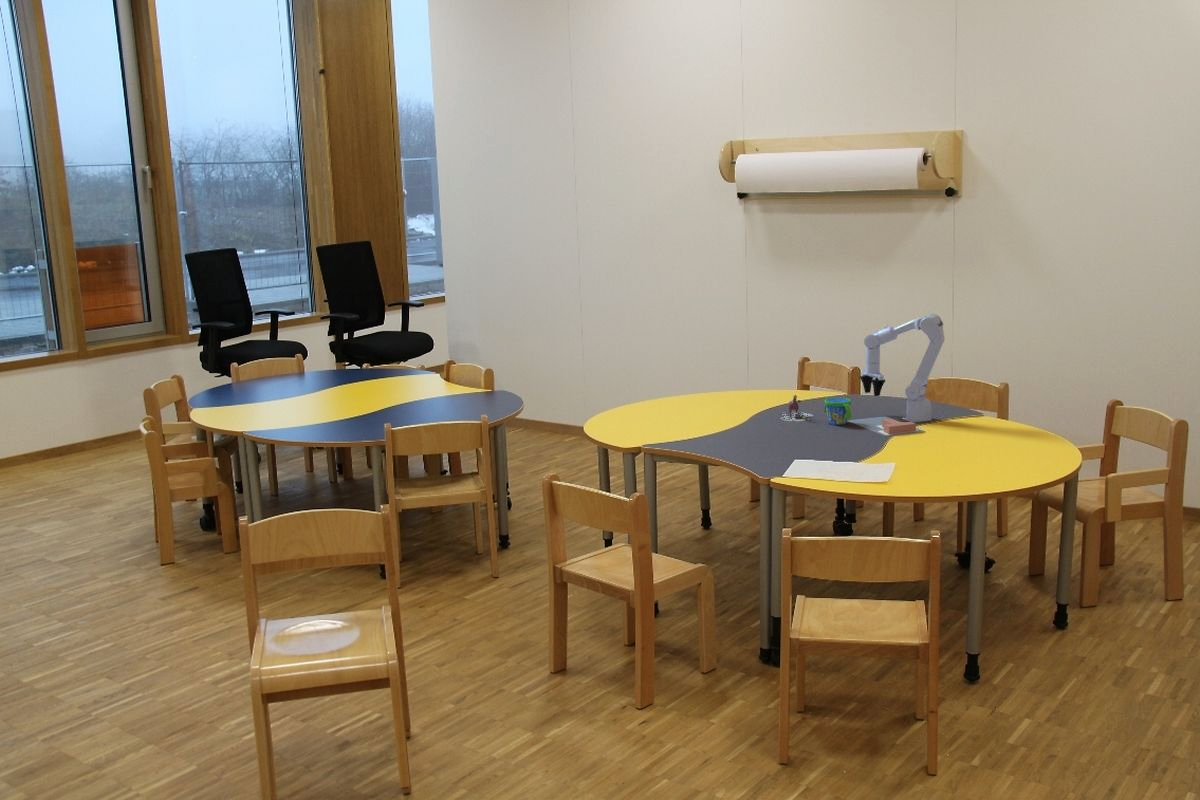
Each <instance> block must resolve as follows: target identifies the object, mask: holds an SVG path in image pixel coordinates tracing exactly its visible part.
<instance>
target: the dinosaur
mask: <svg viewBox="0 0 1200 800" xmlns="http://www.w3.org/2000/svg"><path fill="white" fill-rule="evenodd" d="M797 397H798V396H797V395H796V394H794V395H793V399H792V400H789V402H788V404H787V405H788V406H787V409H788V410H789V412H788V413H790V414H788V415H789V416H786V415H787V414H786V413H785V414H783V415H785V416H784V417H783V418H785V419H783V418H781V419H782V421H783V420H784V421H783V422H793V421H794V422H803V421H806V419H807V420H811V418H810V417H814V414H812V413H808V414H807V413H806V412H802V413H803V414H798V413H797V412H798V411H799V408H800V406H799V404H800V403H801V399H799V400H797ZM792 411H795V413H794V412H793V413H794V414H793V415H794V416H793V415H792V414H791V413H792ZM795 414H796V415H795ZM799 415H800V417H802V418H801V419H796V417H797V418H800V417H799ZM802 415H804V416H802ZM807 415H808V416H807ZM789 418H790V419H789ZM791 418H792V419H791ZM792 420H793V421H792Z"/></svg>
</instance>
